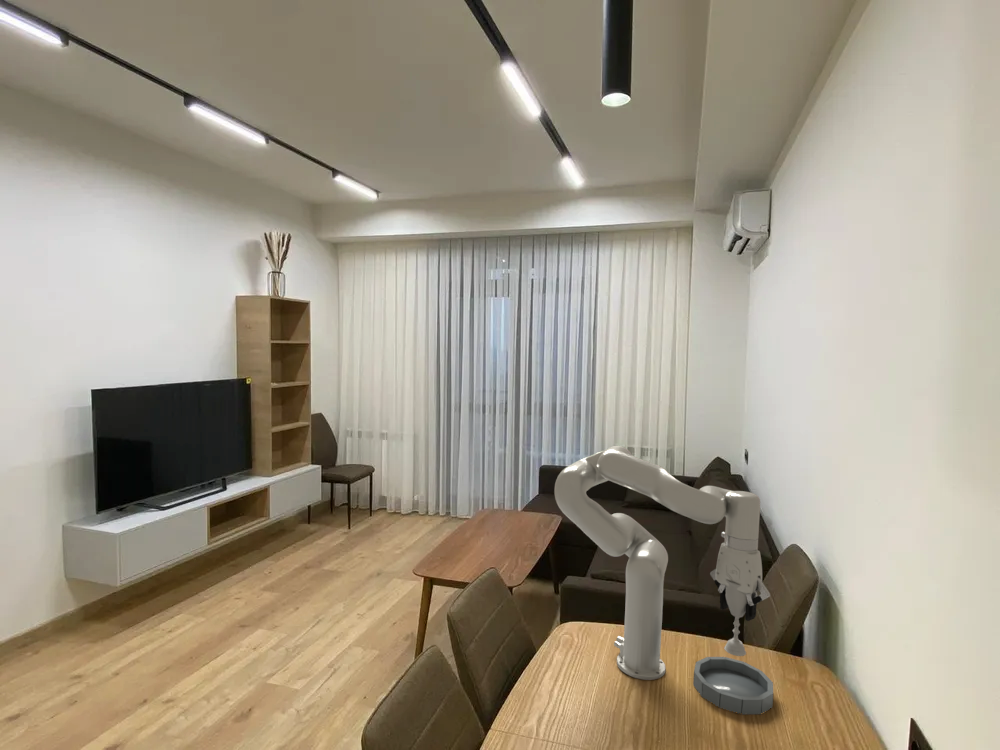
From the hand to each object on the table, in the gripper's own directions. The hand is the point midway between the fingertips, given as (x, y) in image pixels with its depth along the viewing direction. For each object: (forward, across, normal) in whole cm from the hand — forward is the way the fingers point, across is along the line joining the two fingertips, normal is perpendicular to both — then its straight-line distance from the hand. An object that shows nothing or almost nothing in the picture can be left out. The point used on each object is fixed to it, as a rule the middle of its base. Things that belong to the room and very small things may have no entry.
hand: (737, 612), depth 135 cm
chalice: (+10, 0, 0) cm, 10 cm away
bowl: (+20, 0, 0) cm, 20 cm away
